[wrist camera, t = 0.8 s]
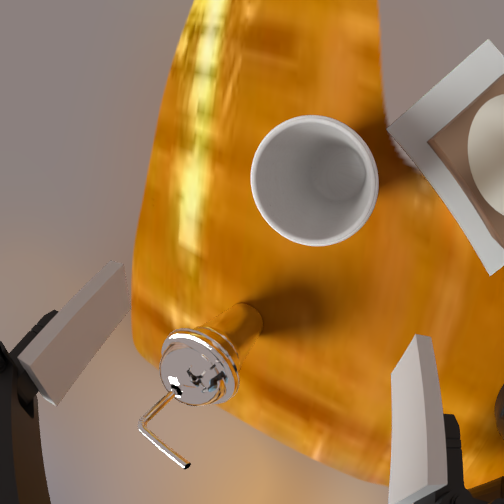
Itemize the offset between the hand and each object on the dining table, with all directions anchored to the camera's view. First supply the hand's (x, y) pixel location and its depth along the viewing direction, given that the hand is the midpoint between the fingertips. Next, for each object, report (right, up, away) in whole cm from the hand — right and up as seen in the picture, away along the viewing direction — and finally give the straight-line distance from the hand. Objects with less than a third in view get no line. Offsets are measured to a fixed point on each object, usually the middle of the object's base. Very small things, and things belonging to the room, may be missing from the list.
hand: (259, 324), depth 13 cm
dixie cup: (+8, +10, +15) cm, 19 cm away
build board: (+21, +11, +7) cm, 25 cm away
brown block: (+20, +11, +6) cm, 24 cm away
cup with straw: (-1, -5, +24) cm, 25 cm away
